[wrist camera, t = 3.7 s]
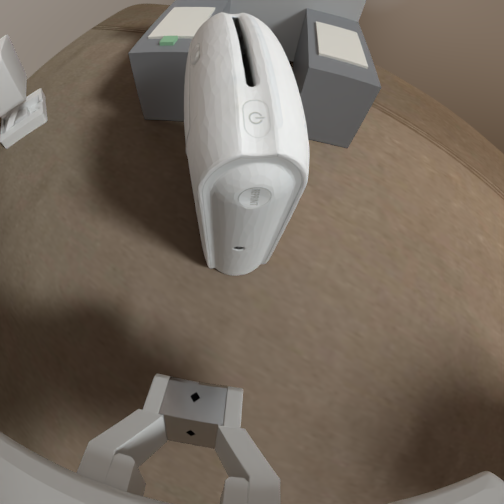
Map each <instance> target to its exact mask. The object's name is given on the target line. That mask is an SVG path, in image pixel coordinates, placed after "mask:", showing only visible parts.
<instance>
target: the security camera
mask: <svg viewBox="0 0 504 504" xmlns="http://www.w3.org/2000/svg"><path fill="white" fill-rule="evenodd" d="M26 82H27V76H26V72H25V70H24V68H23V66H22V64H21V62H20V60H19V58H18V55H17V53H16V51H15V49H14V47H13V44H12V42H11V40H10V38H9V36H8V35H5V36H4V37H2V38H1V39H0V117H1V116H2V120H1V134H0V142H1V143H2V144H3V146H4V147H5V148H6V149H7V148H9V147H10V146H11V145H13V144H14V143H16V142H17V141H18V140H20V139H21V138H23V137H24V136H25V135H27V134H28V133H30V132H31V131H33V130H34V129H36V128H38V127H39V126H41V125H42V124H44V123H45V122H47V111H46V102H45V95H44V93H43V91H42V89H41V88H40V89H38V90H36V91H35V92H33V93H32V94H30V95H29V96H27V97H26Z"/></svg>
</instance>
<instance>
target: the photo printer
mask: <svg viewBox="0 0 504 504" xmlns="http://www.w3.org/2000/svg"><path fill="white" fill-rule="evenodd" d="M184 129H185V141H186V154H187V157H188V163H189V170H190V177H191V183H192V189H193V195H194V201H195V207H196V213H197V219H198V225H199V232H200V236H201V242H202V248H203V252H204V256H205V259H206V262H207V265H208V267H209V268H216V269H217V270H218V271H220V272H222V273H224V274H228V275H244V274H247V273H250V272H251V271H253V270H254V269H256V268H257V267H258V266H259V265H260V264H266V263H267V262H268V260H269V259H270V257H271V255H272V253H273V251H274V249H275V247H276V245H277V243H278V242H279V240H280V238H281V236H282V234H283V232H284V230H285V228H286V226H287V224H288V222H289V220H290V218H291V216H292V214H293V212H294V210H295V208H296V206H297V204H298V202H299V199H300V197H301V195H302V194H303V192H304V189H305V187H306V185H307V180H308V173H309V141H308V133H307V125H306V120H305V115H304V110H303V105H302V101H301V97H300V93H299V90H298V86H297V83H296V80H295V77H294V74H293V71H292V68H291V66H290V63H289V61H288V58H287V56H286V54H285V52H284V50H283V48H282V46H281V44H280V42H279V41H278V39H277V38H276V36H275V35H274V33H273V32H272V31H271V30H270V29H269V27H268V26H267V25H265V24H264V23H263V22H262V21H260V20H259V19H258V18H256V17H254V16H252V15H250V14H247V13H239V14H228V13H223V12H221V13H218V14H216V15H214V16H212V17H210V18H209V19H208V20H207V21H205V22H204V23H203V24H202V25H201V26H200V28H199V29H198V30H197V32H196V33H195V35H194V37H193V39H192V40H191V43H190V47H189V51H188V56H187V63H186V71H185V84H184Z"/></svg>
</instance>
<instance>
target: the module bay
mask: <svg viewBox="0 0 504 504" xmlns="http://www.w3.org/2000/svg"><path fill="white" fill-rule="evenodd" d="M365 2H366V0H176V1H175V2H174V3H173V4H171V5H170V7H169V8H168V9H167V10H166V11H165V12H164V13H163V14H162V15H161V16H160V17H159V18H158V19H157V20H156V21H155V22H154V23H153V25H152V26H151V27H150V28H149V29H148V30H147V31H146V33H145V34H144V35H143V36H142V37H141V38H140V40H139V41H138V42H137V43H136V44H135V46H134V47H133V48H132V49H131V51H130V52H129V53H128V54H129V58H130V63H131V67H132V71H133V76H134V80H135V84H136V88H137V92H138V96H139V100H140V104H141V108H142V111H143V115H144V119H151V120H170V121H184V84H185V71H186V63H187V56H188V51H189V47H190V43H191V40H192V39H193V37H194V35H195V33H196V32H197V30H198V29H199V28H200V26H201V25H202V24H203V23H204V22H205V21H207V20H208V19H209V18H210V17H212V16H214V15H216V14H218V13H221V12H223V13H228V14H239V13H247V14H250V15H252V16H254V17H256V18H258V19H259V20H260V21H262V22H263V23H264V24H265V25H267V26H268V27H269V29H270V30H271V31H272V32H273V33H274V35H275V36H276V38H277V39H278V41H279V42H280V44H281V46H282V48H283V50H284V52H285V54H286V56H287V58H288V61H292V62H293V74H294V77H295V80H296V83H297V86H298V90H299V93H300V97H301V101H302V105H303V110H304V115H305V120H306V125H307V133H308V139H309V140H314V141H319V142H323V143H328V144H332V145H336V146H340V147H344V148H348V147H349V145H350V143H351V141H352V140H353V138H354V136H355V134H356V132H357V131H358V129H359V127H360V125H361V124H362V122H363V120H364V118H365V116H366V114H367V113H368V111H369V109H370V107H371V105H372V104H373V102H374V100H375V98H376V96H377V94H378V93H379V91H380V89H381V86H380V82H379V79H378V76H377V73H376V70H375V66H374V63H373V61H372V58H371V55H370V52H369V49H368V47H367V44H366V41H365V38H364V36H363V33H362V31H361V28H360V26H359V23H358V21H359V18H360V15H361V13H362V10H363V7H364V4H365Z"/></svg>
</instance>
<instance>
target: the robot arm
mask: <svg viewBox="0 0 504 504" xmlns="http://www.w3.org/2000/svg"><path fill="white" fill-rule="evenodd" d="M242 400H243V388H236V387H228V386H224V385H216V384H210V383H203V382H194V381H189V380H185V379H180V378H176V377H171V376H167V375H162V374H158V373H156V375H155V376H154V378H153V381H152V384H151V387H150V389H149V392H148V395H147V398H146V401H145V404H144V406H143V409H142V410H141V409H137V410H136V411H135V412H133V413H132V414H130V415H129V416H127V417H126V418H124V419H123V420H121V421H120V422H118V423H117V424H115V425H114V426H112V427H111V428H109V429H108V430H106V431H105V432H103V433H102V434H100V435H99V436H97V437H95V438H94V439H92V440H91V441H89V443H88V446H87V448H86V451H85V453H84V455H83V458H82V460H81V463H80V466H79V468H78V471H77V473H75V472H73V471H71V470H69V469H66V468H64V467H62V466H60V465H58V464H56V463H54V462H52V461H50V460H48V459H46V458H44V457H42V456H40V455H38V454H37V453H35V452H33V451H31V450H29V449H28V448H26V447H24V446H22V445H21V444H19V443H18V442H16V441H14V440H13V439H11V438H9V437H8V436H6V435H5V434H3V433H2V432H0V504H172V503H168V502H163V501H159V500H155V499H151V498H147V497H143V495H144V491H145V486H146V483H145V481H144V479H143V477H142V475H141V473H140V471H139V469H138V467H139V466H140V465H142V464H143V463H144V462H145V461H146V460H147V459H148V458H149V457H151V456H152V455H153V454H154V453H155V452H156V451H157V450H158V449H159V448H161V447H162V446H163V445H164V444H165V443H166V442H167V440H170V441H175V442H180V443H186V444H192V445H197V446H202V447H208V448H213V449H215V451H216V453H217V455H218V457H219V459H220V461H221V463H222V465H223V466H224V468H225V470H226V472H227V474H228V476H229V478H228V479H226V481H225V484H224V488H223V491H222V495H221V498H220V504H280V478H279V477H278V476H277V474H276V473H275V472H274V470H273V469H272V467H271V466H270V465H269V463H268V462H267V460H266V459H265V458H264V456H263V455H262V453H261V452H260V450H259V449H258V448H257V446H256V445H255V443H254V442H253V440H252V439H251V437H250V436H249V434H248V433H247V431H246V430H245V429H244V428H241V414H242ZM386 504H504V481H503V480H502V479H500V478H499V477H498V476H496V475H495V474H493V473H491V472H490V471H483V472H480V473H478V474H476V475H473V476H471V477H469V478H466V479H464V480H461V481H459V482H456V483H454V484H451V485H448V486H445V487H443V488H440V489H437V490H434V491H431V492H428V493H424V494H421V495H418V496H414V497H410V498H407V499H403V500H399V501H395V502H390V503H386Z"/></svg>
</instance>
